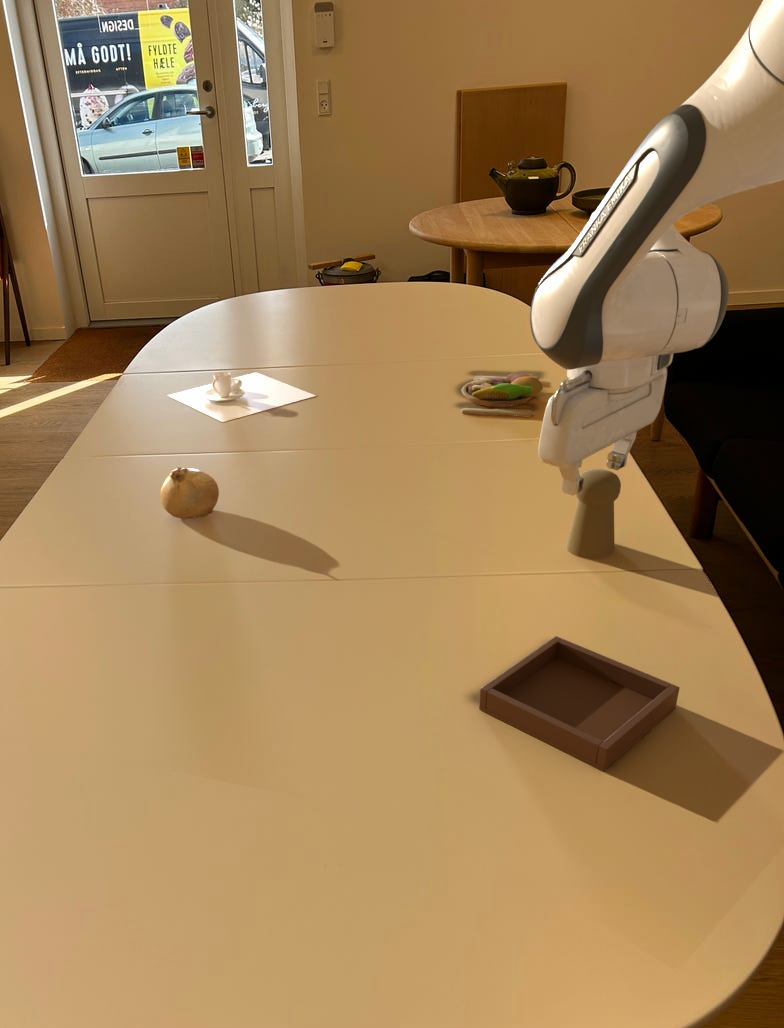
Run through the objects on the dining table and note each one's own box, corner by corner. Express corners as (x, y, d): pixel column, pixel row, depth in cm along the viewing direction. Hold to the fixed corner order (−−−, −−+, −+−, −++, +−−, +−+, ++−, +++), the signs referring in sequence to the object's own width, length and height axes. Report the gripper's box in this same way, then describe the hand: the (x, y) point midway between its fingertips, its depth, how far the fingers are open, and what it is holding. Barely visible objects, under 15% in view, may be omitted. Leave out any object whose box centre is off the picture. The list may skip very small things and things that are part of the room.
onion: (179, 499, 139) (173, 452, 135) (229, 505, 137) (225, 457, 133) (153, 522, 133) (146, 474, 129) (206, 529, 130) (200, 480, 126)
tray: (675, 708, 92) (679, 687, 90) (603, 771, 85) (606, 749, 83) (553, 656, 100) (555, 635, 99) (478, 709, 93) (480, 688, 92)
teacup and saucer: (234, 385, 182) (232, 364, 180) (257, 395, 177) (255, 373, 175) (194, 396, 178) (191, 374, 176) (216, 406, 173) (214, 384, 171)
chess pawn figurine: (553, 558, 118) (562, 474, 112) (580, 541, 122) (589, 459, 116) (598, 573, 114) (609, 487, 109) (624, 555, 118) (636, 471, 112)
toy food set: (467, 378, 179) (468, 356, 177) (543, 380, 176) (545, 357, 174) (455, 414, 163) (456, 391, 161) (539, 417, 160) (541, 393, 158)
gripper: (582, 391, 97) (568, 516, 105) (682, 345, 109) (662, 461, 116) (529, 379, 101) (519, 500, 108) (631, 336, 113) (615, 448, 120)
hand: (594, 479), depth 112 cm, fingers open, 8 cm apart
